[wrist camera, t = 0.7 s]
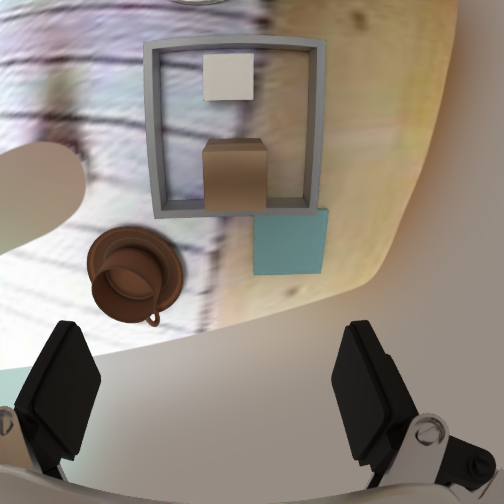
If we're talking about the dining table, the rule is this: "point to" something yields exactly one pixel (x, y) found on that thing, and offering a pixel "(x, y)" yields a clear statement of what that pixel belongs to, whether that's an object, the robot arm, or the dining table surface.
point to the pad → (289, 244)
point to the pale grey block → (228, 77)
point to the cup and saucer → (133, 275)
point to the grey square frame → (314, 124)
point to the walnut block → (235, 175)
